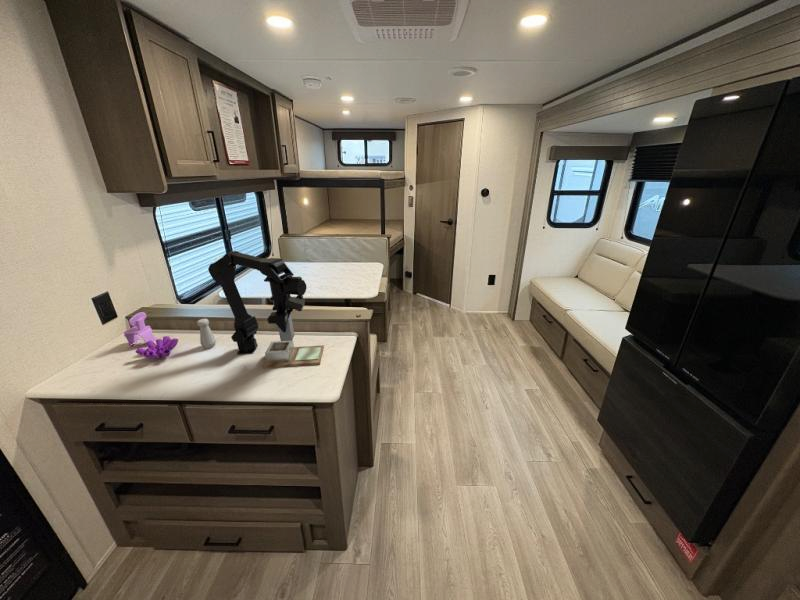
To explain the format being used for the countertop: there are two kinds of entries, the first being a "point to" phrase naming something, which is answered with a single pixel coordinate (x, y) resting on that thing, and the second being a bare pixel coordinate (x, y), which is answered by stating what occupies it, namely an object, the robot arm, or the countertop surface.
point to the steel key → (287, 330)
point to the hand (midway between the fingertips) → (286, 329)
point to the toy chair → (139, 329)
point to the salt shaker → (206, 334)
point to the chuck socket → (279, 351)
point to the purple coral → (158, 348)
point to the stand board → (300, 357)
